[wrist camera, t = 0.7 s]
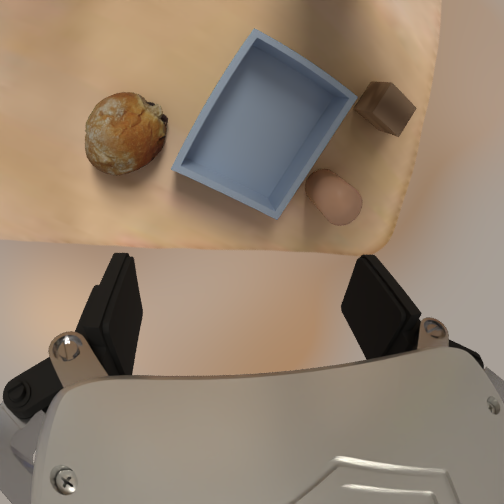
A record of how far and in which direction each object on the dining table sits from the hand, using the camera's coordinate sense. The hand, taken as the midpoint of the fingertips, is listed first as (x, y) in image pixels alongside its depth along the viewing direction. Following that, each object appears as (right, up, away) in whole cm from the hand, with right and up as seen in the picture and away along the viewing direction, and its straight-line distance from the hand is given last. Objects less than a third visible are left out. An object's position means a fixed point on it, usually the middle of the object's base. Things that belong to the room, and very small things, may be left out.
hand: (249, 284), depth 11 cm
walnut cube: (+17, +21, +21) cm, 34 cm away
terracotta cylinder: (+10, +10, +26) cm, 30 cm away
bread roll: (-15, +16, +19) cm, 29 cm away
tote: (+1, +17, +20) cm, 26 cm away
